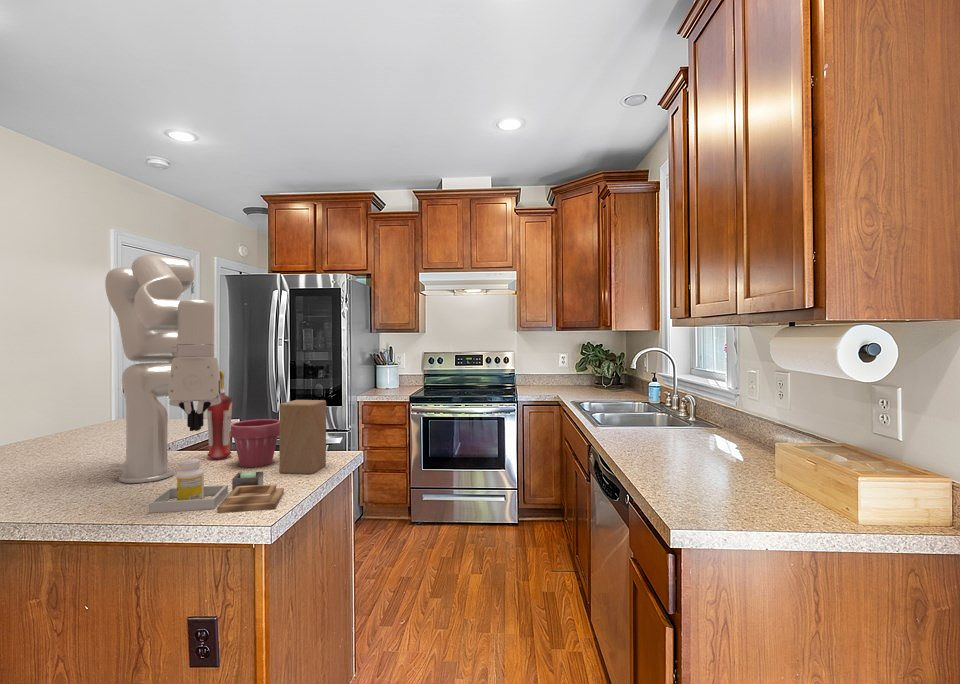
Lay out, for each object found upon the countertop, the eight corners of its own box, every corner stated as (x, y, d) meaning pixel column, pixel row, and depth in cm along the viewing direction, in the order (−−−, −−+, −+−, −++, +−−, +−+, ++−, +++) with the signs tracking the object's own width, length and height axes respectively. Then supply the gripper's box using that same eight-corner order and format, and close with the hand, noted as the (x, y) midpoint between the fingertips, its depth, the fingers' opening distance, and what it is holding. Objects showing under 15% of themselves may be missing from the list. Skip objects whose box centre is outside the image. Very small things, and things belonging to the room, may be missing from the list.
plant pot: (226, 462, 153) (226, 421, 153) (273, 456, 162) (273, 417, 162) (236, 472, 142) (236, 427, 142) (286, 465, 151) (286, 423, 151)
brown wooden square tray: (217, 512, 109) (217, 500, 109) (231, 495, 121) (231, 484, 121) (275, 508, 112) (275, 496, 112) (283, 492, 123) (283, 482, 123)
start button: (238, 485, 123) (238, 475, 123) (242, 481, 126) (242, 471, 126) (254, 484, 123) (254, 474, 123) (257, 480, 127) (257, 471, 127)
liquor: (209, 456, 161) (209, 370, 161) (233, 454, 163) (234, 370, 163) (204, 461, 154) (204, 372, 154) (229, 459, 156) (230, 371, 156)
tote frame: (148, 513, 108) (148, 503, 108) (168, 497, 119) (168, 488, 119) (214, 508, 111) (214, 499, 111) (227, 493, 122) (227, 484, 122)
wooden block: (326, 465, 150) (326, 400, 150) (312, 474, 140) (312, 404, 140) (295, 464, 151) (295, 399, 151) (278, 473, 141) (278, 403, 141)
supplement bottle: (184, 499, 118) (184, 458, 118) (207, 499, 118) (208, 458, 118) (172, 507, 113) (172, 464, 112) (196, 506, 113) (197, 463, 113)
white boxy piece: (232, 495, 121) (232, 479, 121) (238, 488, 127) (238, 472, 127) (258, 493, 122) (258, 477, 122) (263, 486, 128) (263, 471, 128)
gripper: (153, 352, 110) (153, 434, 111) (226, 352, 114) (226, 431, 114) (165, 351, 118) (165, 428, 118) (234, 351, 122) (233, 426, 122)
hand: (195, 429), depth 116 cm, fingers closed
